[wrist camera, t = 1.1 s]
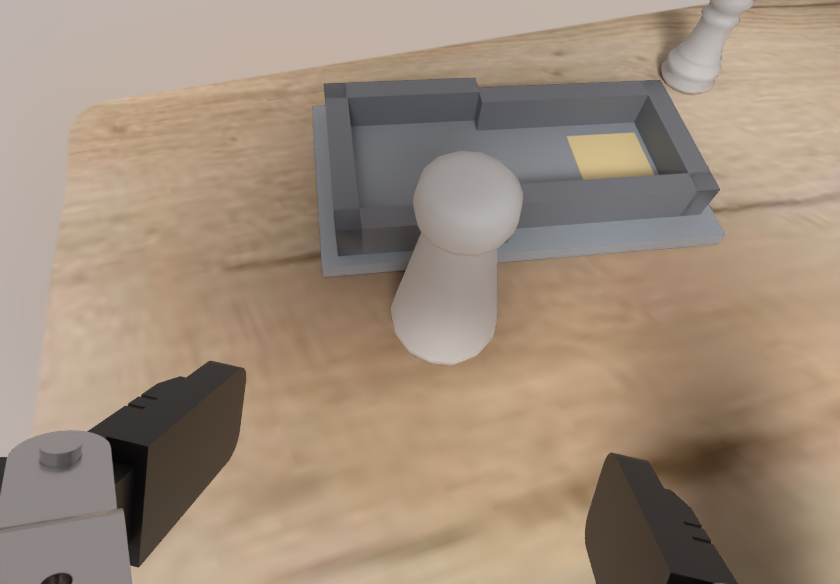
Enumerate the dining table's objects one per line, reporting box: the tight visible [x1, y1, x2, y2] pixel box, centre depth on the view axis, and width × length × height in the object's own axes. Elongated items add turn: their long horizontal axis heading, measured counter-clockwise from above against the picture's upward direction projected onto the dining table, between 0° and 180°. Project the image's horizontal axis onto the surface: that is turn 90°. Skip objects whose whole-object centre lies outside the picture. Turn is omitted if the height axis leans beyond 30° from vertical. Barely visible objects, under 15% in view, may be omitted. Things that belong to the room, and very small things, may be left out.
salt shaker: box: [390, 151, 523, 366], centre depth 26 cm, size 6×6×13 cm
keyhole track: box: [312, 78, 725, 277], centre depth 37 cm, size 26×14×4 cm, turn 98°
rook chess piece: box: [661, 0, 755, 95], centre depth 42 cm, size 4×4×8 cm
